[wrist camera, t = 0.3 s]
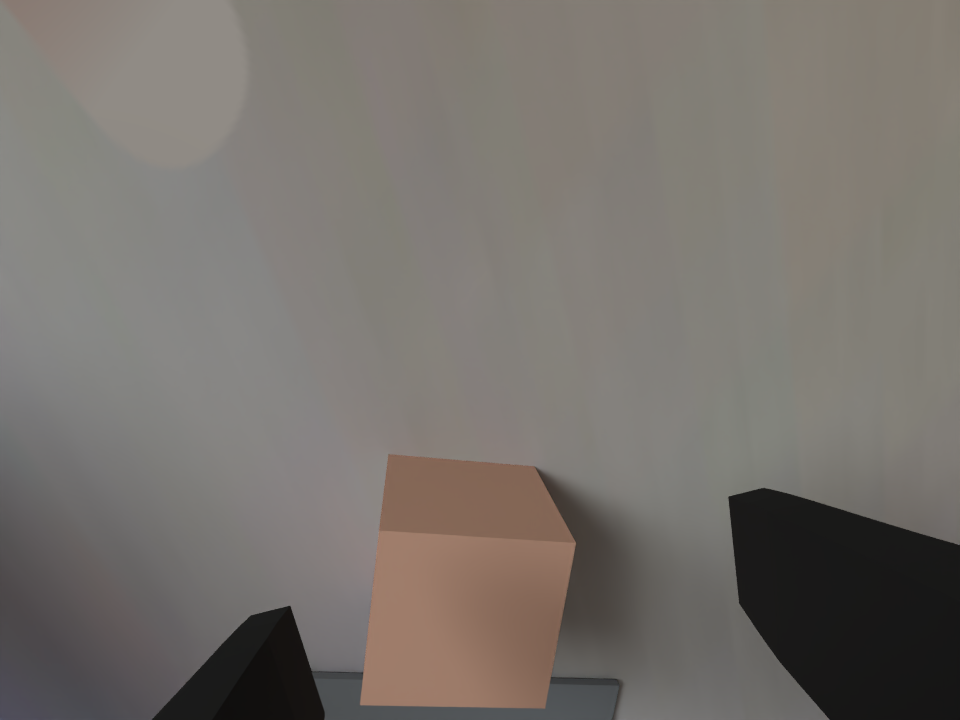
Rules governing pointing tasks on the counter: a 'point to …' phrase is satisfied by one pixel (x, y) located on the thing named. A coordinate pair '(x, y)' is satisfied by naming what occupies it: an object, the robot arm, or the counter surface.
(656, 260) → the counter surface
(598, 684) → the panel
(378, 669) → the cube
